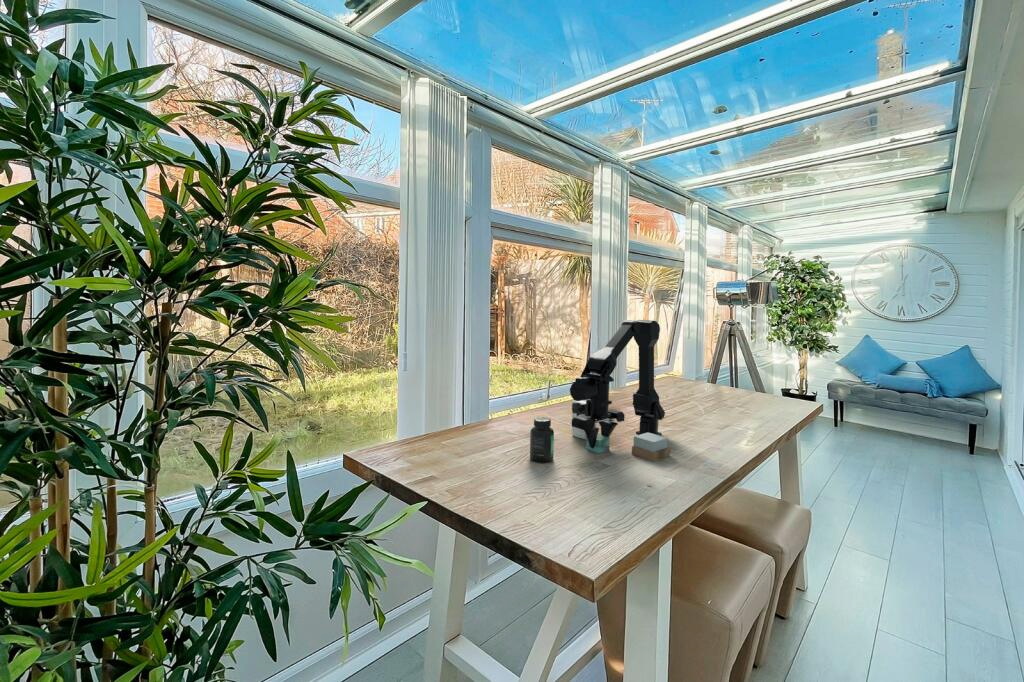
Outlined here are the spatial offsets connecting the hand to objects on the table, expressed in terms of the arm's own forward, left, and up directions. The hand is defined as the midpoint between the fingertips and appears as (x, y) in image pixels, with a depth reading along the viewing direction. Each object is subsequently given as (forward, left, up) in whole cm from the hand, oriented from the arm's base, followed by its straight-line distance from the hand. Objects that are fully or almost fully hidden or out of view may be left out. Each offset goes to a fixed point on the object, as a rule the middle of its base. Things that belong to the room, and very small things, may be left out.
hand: (597, 446), depth 142 cm
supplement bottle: (+20, -4, -1) cm, 20 cm away
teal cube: (0, 0, -1) cm, 1 cm away
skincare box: (-6, -12, -1) cm, 13 cm away
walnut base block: (-9, +13, -2) cm, 16 cm away
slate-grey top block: (-9, +13, +1) cm, 16 cm away
